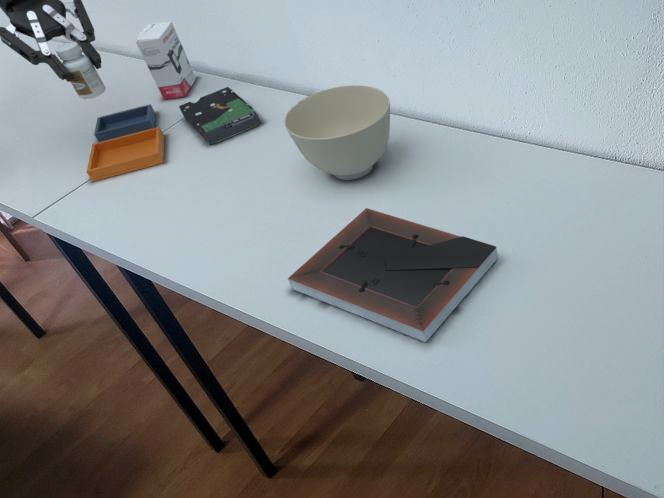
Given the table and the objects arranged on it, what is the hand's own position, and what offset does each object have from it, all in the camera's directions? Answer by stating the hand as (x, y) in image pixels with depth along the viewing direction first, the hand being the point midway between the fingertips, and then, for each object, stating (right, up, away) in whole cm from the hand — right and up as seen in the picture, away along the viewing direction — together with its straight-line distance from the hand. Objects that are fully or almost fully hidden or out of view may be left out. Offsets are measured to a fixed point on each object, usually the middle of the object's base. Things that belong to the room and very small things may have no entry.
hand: (84, 71), depth 102 cm
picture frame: (+52, -35, -19) cm, 65 cm away
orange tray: (+1, -10, +12) cm, 16 cm away
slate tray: (-4, -2, +20) cm, 21 cm away
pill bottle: (-1, -2, +4) cm, 5 cm away
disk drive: (+15, -2, +18) cm, 23 cm away
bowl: (+43, -16, 0) cm, 46 cm away
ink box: (+2, +9, +30) cm, 32 cm away
